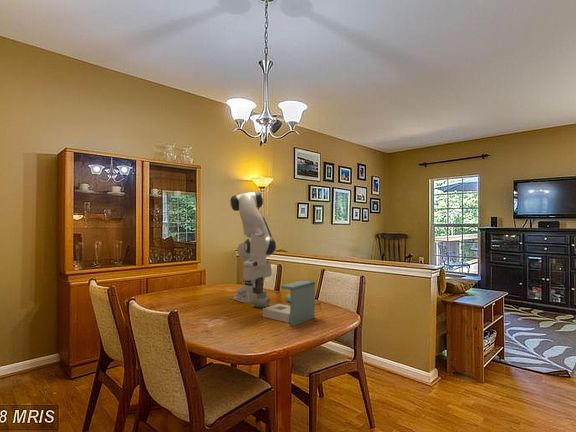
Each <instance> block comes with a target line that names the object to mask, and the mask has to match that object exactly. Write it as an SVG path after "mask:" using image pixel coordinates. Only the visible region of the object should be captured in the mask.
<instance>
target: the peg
mask: <svg viewBox="0 0 576 432" xmlns="http://www.w3.org/2000/svg"><path fill="white" fill-rule="evenodd" d="M255 284H257V287H255V288H254V287H253V293H255V294H261V293H263V289H264V285H263V277H259V278H258V279H255Z"/></svg>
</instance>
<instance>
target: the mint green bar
mask: <svg viewBox="0 0 576 432" xmlns="http://www.w3.org/2000/svg"><path fill="white" fill-rule="evenodd" d="M285 300H286V301H287V302H288V301H289V302H288V303H290V294H289V293H287V295H286V296H285Z"/></svg>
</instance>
